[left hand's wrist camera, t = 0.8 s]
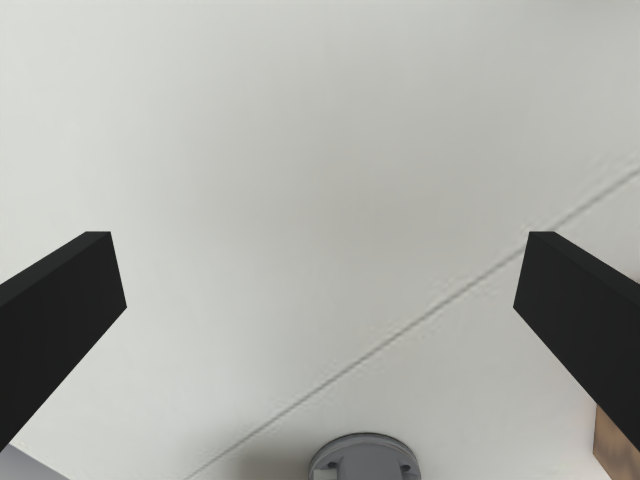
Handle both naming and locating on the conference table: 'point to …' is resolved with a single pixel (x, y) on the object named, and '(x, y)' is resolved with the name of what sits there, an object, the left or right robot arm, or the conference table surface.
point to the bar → (615, 450)
